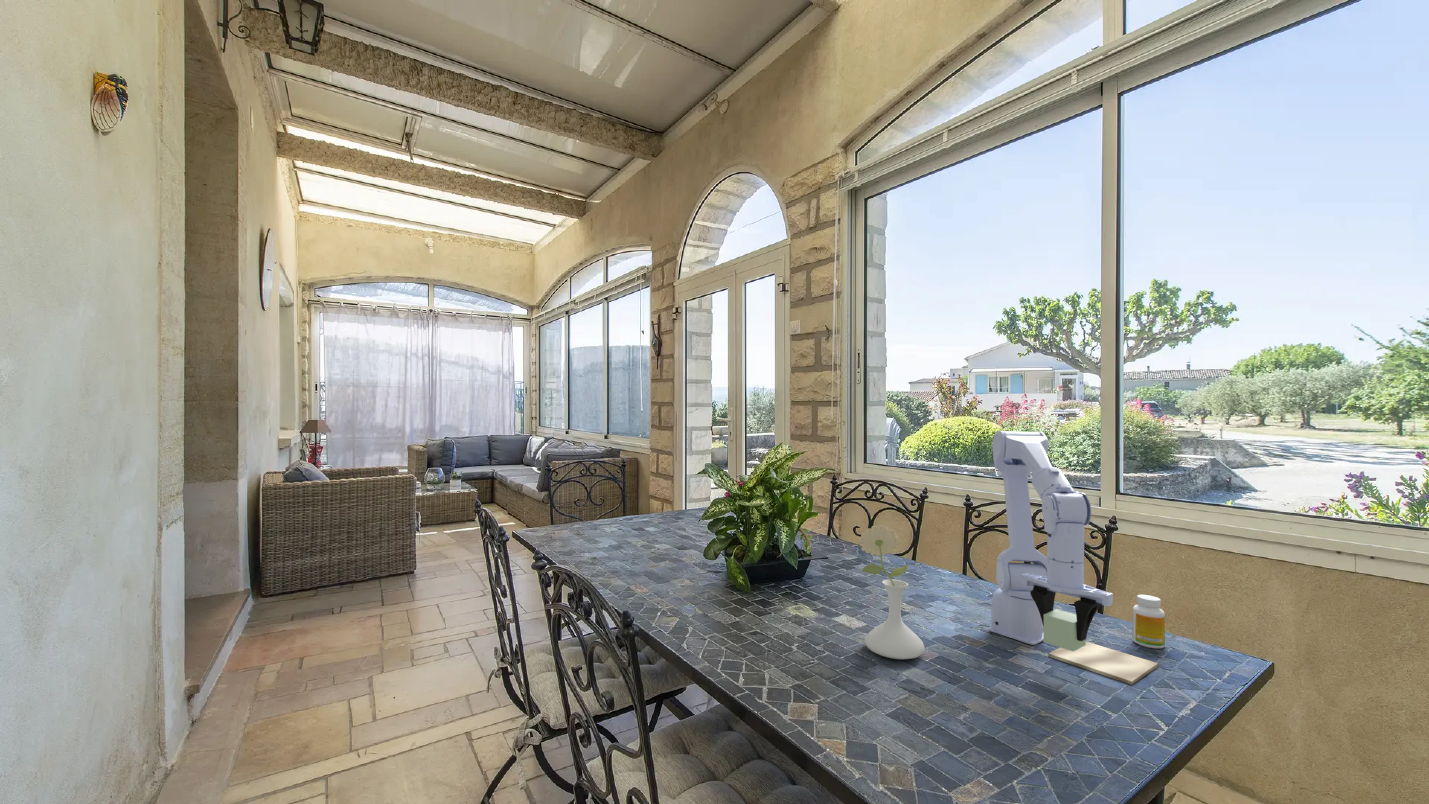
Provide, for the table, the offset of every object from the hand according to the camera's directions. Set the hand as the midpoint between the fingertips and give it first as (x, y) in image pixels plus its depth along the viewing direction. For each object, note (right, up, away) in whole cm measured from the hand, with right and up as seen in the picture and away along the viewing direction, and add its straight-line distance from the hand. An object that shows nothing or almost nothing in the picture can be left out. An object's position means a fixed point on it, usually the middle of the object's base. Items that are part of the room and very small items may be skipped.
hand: (1064, 634), depth 104 cm
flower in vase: (-29, -8, +10) cm, 31 cm away
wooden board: (+12, -8, +7) cm, 16 cm away
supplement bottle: (+28, -9, +16) cm, 33 cm away
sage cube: (0, -2, 0) cm, 2 cm away
